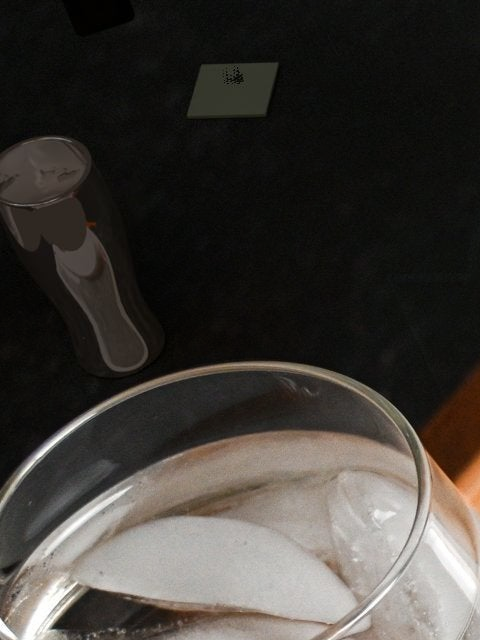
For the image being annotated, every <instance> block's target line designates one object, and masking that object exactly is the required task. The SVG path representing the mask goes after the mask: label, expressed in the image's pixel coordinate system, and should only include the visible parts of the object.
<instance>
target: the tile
mask: <svg viewBox="0 0 480 640" xmlns="http://www.w3.org/2000/svg"><path fill="white" fill-rule="evenodd" d="M234 66H235V67H234ZM237 67H238V69H237ZM226 68H227V69H226ZM234 69H235V71H233V70H234ZM279 69H280V64H279V62H245V63H241V62H239V63H213V64H212V63H210V64H207V63H206V64H201V65H200V67H199V72H198V75H197V79H196V82H195V85H194V89H193V93H192V96H191V100H190V103H189V106H188V110H187V113H186V118H187V119H188V120H197V119H198V120H199V119H200V120H201V119H233V118H234V119H236V118H237V119H240V118H267V116H268V113H269V107H270V104H271V100H272V97H273V92H274V89H275V86H276V85H275V84H276V81H277V78H278V77H277V76H278V73H279ZM223 70H224V71H223ZM237 70H239V72H240V73H239V75H241V74H243V75H242V77H243V80H244V81H243V82H240V84H237V83H239V82H236V83H234V82H235V81H232V82H230V81H231V80H228V82H226V81H227V79H226V78H227V77H228V79H230V78H232V80H233V79H234V77H233V76H235V77H237V76H236V74H238V72H236V71H237ZM226 71H227V73H226ZM234 72H235V74H234ZM223 73H224V74H223ZM226 74H228V76H226ZM230 75H232V76H230ZM223 76H224V77H223ZM240 78H241V77H240ZM240 78H239V79H240ZM224 80H225V81H224ZM236 81H237V80H236ZM241 81H242V80H241ZM224 82H225V83H224ZM227 83H229V84H227ZM232 83H233V84H232Z"/></svg>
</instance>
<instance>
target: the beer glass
mask: <svg viewBox="0 0 480 640" xmlns="http://www.w3.org/2000/svg"><path fill="white" fill-rule="evenodd" d="M0 223H1V226H2V227H3V230H4V232H5V234H6V236H7V238H8V241H9V243H10V245H11V247H12V248H13V250H14V252H15V253H16V255H17V257H18V260H20V262H21V264H22V265H23V266H24V268H25V269H26V270H27V273H28V274H29V275H30V277H31V278H32V279H33V280H34V282H35V283H36V284H37V286H38V287H39V288H40V290H41V292H43V293H44V295H45V296H46V297H47V299H48V300H49V301H50V302H51V303H52V305H53V306H54V307H55V309H56V310H57V311H58V313H59V314H60V316H61V318H62V319H63V320H64V322H65V324H66V327H67V329H68V331H69V335H70V338H71V343H72V347H73V351H74V354H75V358H76V360H77V362H78V364H79V366H81V368H82V369H83V370H84V371H86V373H88V374H90V375H93V376H95V377H98V378H104V379H119V378H125V377H129V376H132V375H135V374H137V373H139V371H137V370H141V371H143V370H144V369H143V367H145V366H146V365H149V364H150V362H153V360H155V361H156V360H157V359H158V358H159V357H160V355H161V354H162V352H163V351H164V348H165V344H166V332H165V330H164V327H163V326H162V324H161V322H160V321H159V319H158V318H157V316H156V315H155V314H154V312H153V311H152V309H150V308H151V307H149V306H148V303H147V302H146V301H145V299H144V297H143V295H142V293H141V292H142V291H141V290H140V287H139V284H138V279H137V275H136V272H135V266H134V261H133V256H132V252H131V247H130V243H129V239H128V235H127V232H126V228H125V225H124V221H123V219H122V216H121V213H120V210H119V209H118V206H117V203H116V201H115V198H114V197H113V195H112V193H111V191H110V189H109V187H108V184H107V183H106V181H105V179H104V177H103V176H102V174H101V172H100V170H99V168H98V166H97V165H96V163H95V161H94V160H93V158H92V155H91V152H90V151H89V149H88V148H87V147H86V146H85V145H84V144H83V143H82V142H80V141H79V140H76V139H74V138H72V137H69V136H63V135H57V134H56V135H55V134H53V135H49V134H48V135H40V136H34V137H30V138H27V139H24V140H22V141H19V142H17V143H15V144H13V145H11V146H10V147H9V146H8V148H6V149H4V150H3V151H2V152H1V153H0ZM158 356H159V357H158ZM156 358H157V359H156ZM153 363H154V362H153ZM149 366H150V365H149ZM142 369H143V370H142Z"/></svg>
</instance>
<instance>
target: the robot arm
mask: <svg viewBox="0 0 480 640" xmlns="http://www.w3.org/2000/svg"><path fill="white" fill-rule="evenodd" d="M61 2H62V4H63V7H64V9H65V11H66V14H67V16H68V18H69V21H70V23H71V26H72V28H73V30H74V33H75V34H76V35H77V36H78V37H81V38H85V37H89V36H92V35H95V34H98V33H101V32H104V31H106V30H109V29H112V28H115V27H119V26H122V25H125V24H128V23H130V22H132V21H133V20H134V19H135V17H136V13H135V10H134V8H133V5H132V2H131V0H61Z"/></svg>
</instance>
